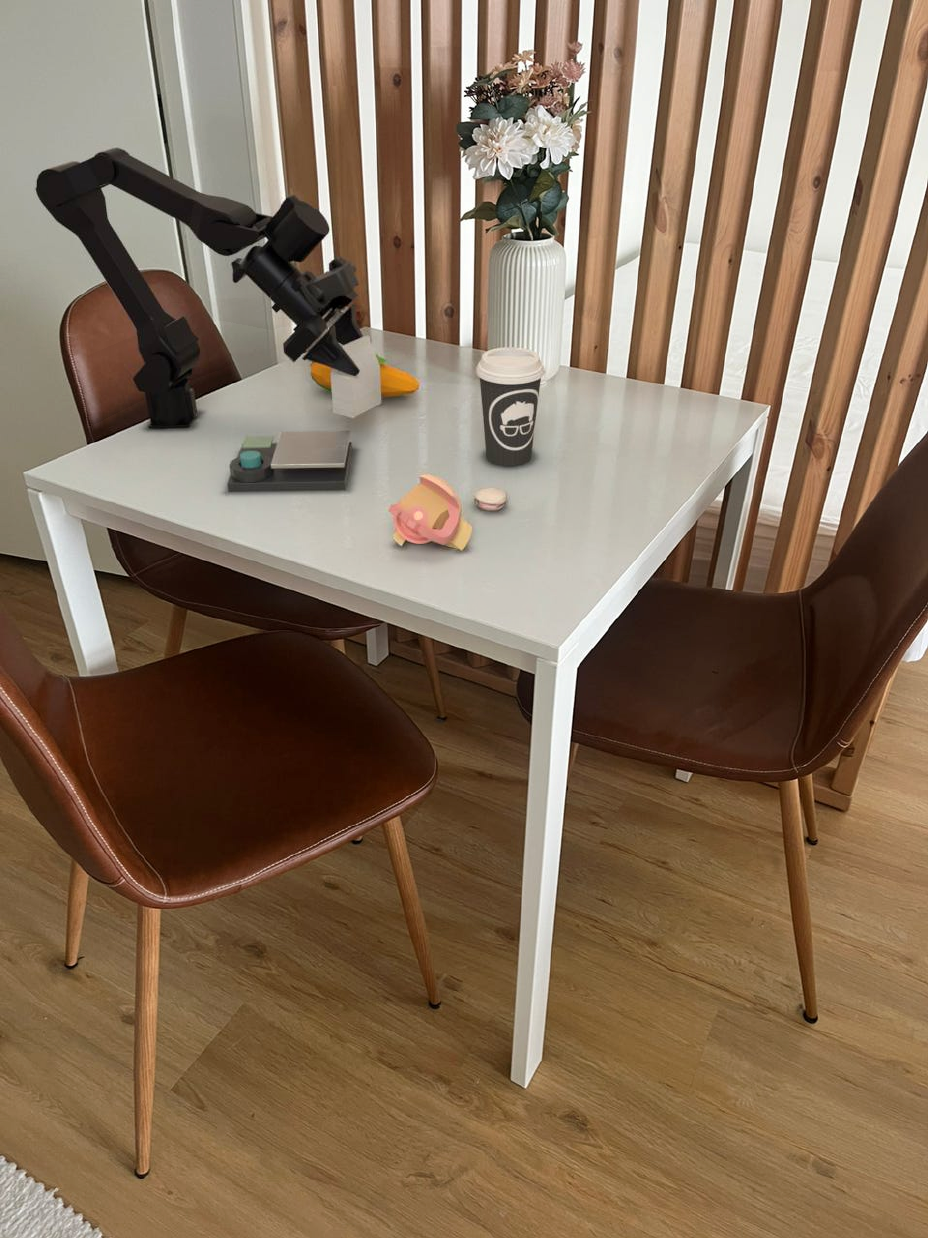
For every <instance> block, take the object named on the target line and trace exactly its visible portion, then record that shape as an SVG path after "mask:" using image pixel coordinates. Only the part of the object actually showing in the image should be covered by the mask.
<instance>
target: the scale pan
mask: <svg viewBox="0 0 928 1238" xmlns="http://www.w3.org/2000/svg"><path fill="white" fill-rule="evenodd" d="M350 438H351V430H319V431H317V430H315V431H313V430H311V431H309V430H308V431H307V430H306V431H280V434H279V437H278V439H277V442H276V443H277V446H276V450H275V453H274V456H273V459H272V462H271V469H279V468H344V467H345V461H346V456H347V450H348V444H349V442H350Z"/></svg>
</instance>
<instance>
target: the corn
mask: <svg viewBox="0 0 928 1238" xmlns="http://www.w3.org/2000/svg"><path fill="white" fill-rule="evenodd" d="M376 357H377V360H378V362H379V365H380V383H381V398H393V397H400V396H406V395H411V394H414V393H415V392H417V391H418V390H419V387H420V382H419V381H418V379H416V378H415V377H414V376H412V375H411V374H410V373H408V372H405V371H403V370H400V369H398V368H395V367H393V366H391V365H388V364H385V363H387V361H388V360H387V359H385V358H383V357H381V356H379V355H378V356H376ZM331 370H332V368H331V367H328V366H326V365H322V364H319V363H316V362H313V361H311V364H310V372H309V374H310V376H311V379H312V380H313V381H314V382H315V384H316V385H317V386H319V387H320V388H322V389H323V390H325V391H327V392H329V393H332V389H331V375H330V373H331Z"/></svg>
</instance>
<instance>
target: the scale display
mask: <svg viewBox="0 0 928 1238" xmlns="http://www.w3.org/2000/svg"><path fill="white" fill-rule="evenodd" d="M274 439H275V436H274V435H261V436H260V435H259V436H257V435H256V436H255V435H254V436H253V435H252V436H250V435H249V436H245V438H244V440H243V443H242V444H243V446H242V445H241V447H242V448H271V445H272V443H274V442H273V441H274Z"/></svg>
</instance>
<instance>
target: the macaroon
mask: <svg viewBox="0 0 928 1238" xmlns="http://www.w3.org/2000/svg"><path fill="white" fill-rule="evenodd" d="M507 496H508V495H507V492H506V490H504V489H501V488H494V487H486V488H481V489H479V490H477V491H476V492H475V493H474V504H475V505H476V506H477V507H478V508H480V509H481V510H483V511H488V512H494V511H497V510H500V509H502V508H503V507H504V505H505V504H506V502H507Z"/></svg>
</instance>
